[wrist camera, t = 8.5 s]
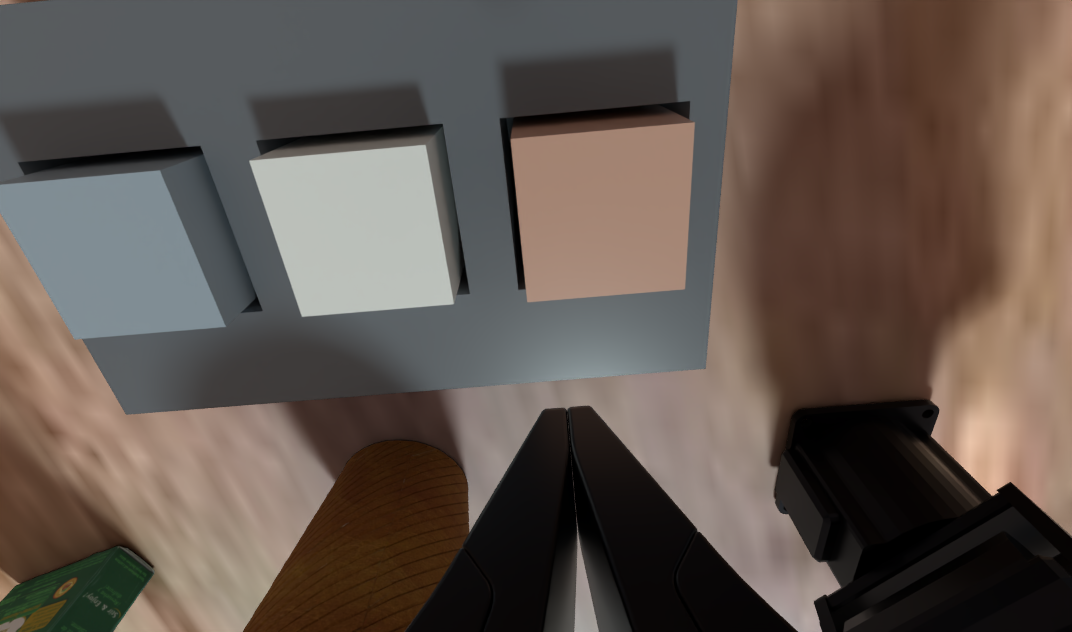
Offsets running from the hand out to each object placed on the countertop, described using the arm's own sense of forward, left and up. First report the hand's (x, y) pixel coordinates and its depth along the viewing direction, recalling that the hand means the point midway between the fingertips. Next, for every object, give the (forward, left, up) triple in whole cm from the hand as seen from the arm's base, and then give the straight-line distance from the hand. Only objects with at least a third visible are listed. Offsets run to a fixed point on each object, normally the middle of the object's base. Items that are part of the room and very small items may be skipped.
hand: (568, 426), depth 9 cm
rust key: (-1, -2, -10) cm, 10 cm away
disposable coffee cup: (+8, +13, -12) cm, 20 cm away
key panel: (+5, -2, -12) cm, 13 cm away
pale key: (+5, -2, -10) cm, 11 cm away
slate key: (+12, -2, -10) cm, 15 cm away
